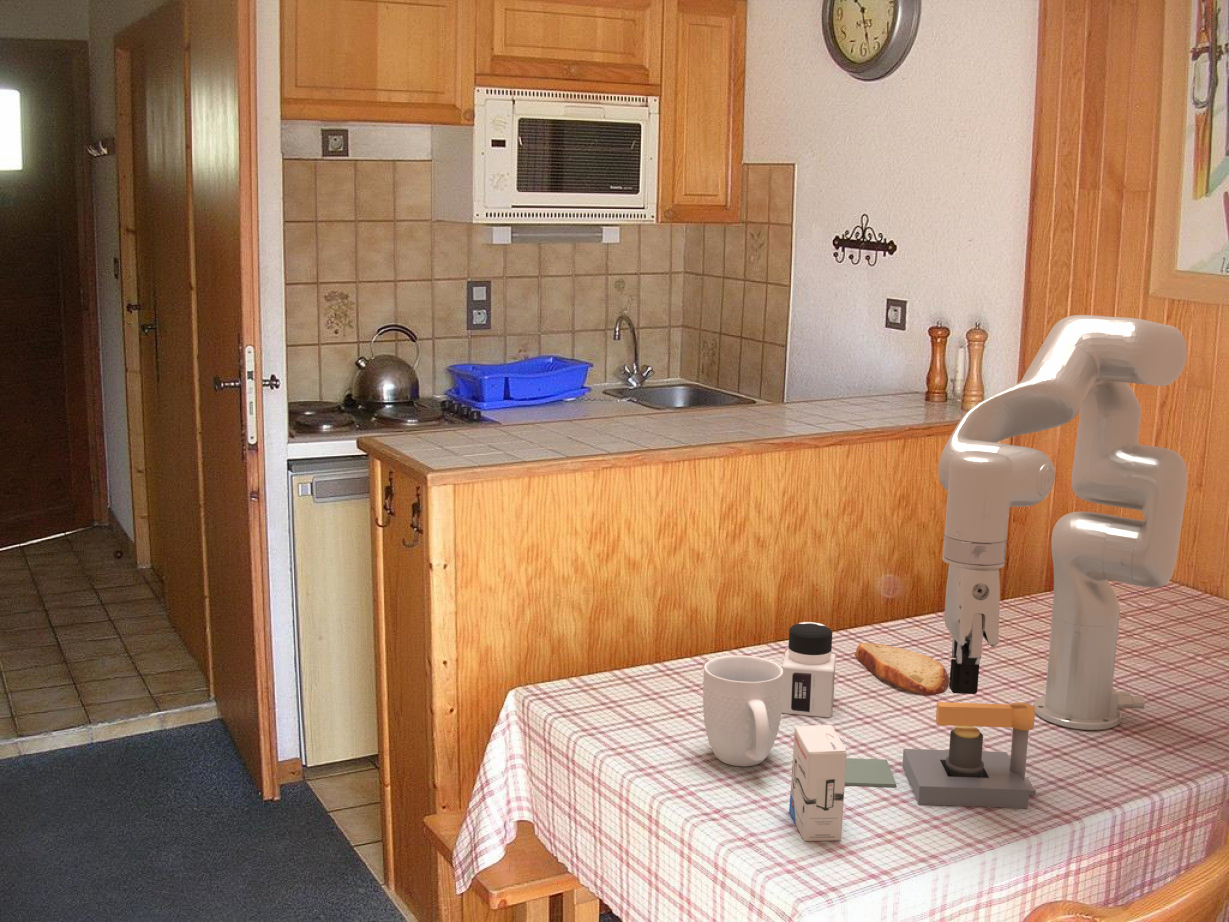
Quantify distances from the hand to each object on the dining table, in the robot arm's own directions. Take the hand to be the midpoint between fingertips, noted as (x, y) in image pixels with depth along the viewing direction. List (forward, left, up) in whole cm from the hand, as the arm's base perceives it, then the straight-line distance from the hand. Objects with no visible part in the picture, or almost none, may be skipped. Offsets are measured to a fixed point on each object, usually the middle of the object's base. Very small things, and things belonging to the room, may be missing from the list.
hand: (962, 691), depth 167 cm
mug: (+27, -12, -16) cm, 33 cm away
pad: (+11, -9, -16) cm, 21 cm away
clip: (-5, -6, -7) cm, 10 cm away
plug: (-2, -6, -16) cm, 17 cm away
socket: (-2, -6, -16) cm, 17 cm away
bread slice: (-1, -50, -16) cm, 52 cm away
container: (+16, -33, -16) cm, 40 cm away
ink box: (+19, +7, -16) cm, 25 cm away
